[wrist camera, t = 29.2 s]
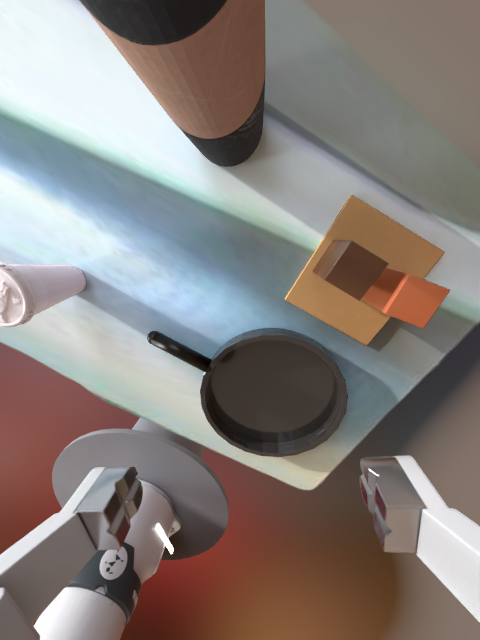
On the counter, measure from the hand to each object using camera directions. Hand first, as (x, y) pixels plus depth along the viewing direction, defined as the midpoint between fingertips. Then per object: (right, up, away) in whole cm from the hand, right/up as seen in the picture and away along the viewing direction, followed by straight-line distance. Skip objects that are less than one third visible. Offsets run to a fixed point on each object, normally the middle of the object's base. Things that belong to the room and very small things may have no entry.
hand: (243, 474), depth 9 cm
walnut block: (+11, +12, +19) cm, 25 cm away
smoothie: (-22, +11, +23) cm, 34 cm away
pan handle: (-8, +2, +25) cm, 26 cm away
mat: (+14, +11, +19) cm, 26 cm away
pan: (+4, -5, +26) cm, 26 cm away
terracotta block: (+17, +9, +19) cm, 27 cm away
